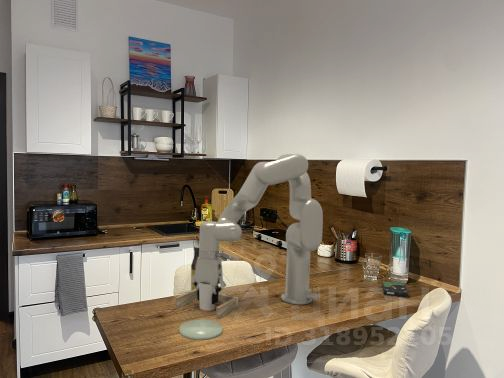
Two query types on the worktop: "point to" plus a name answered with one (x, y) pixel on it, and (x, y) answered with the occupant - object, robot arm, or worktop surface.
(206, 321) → the disc
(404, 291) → the disk drive
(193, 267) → the sauce bottle
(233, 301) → the frame
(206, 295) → the white coffee cup
